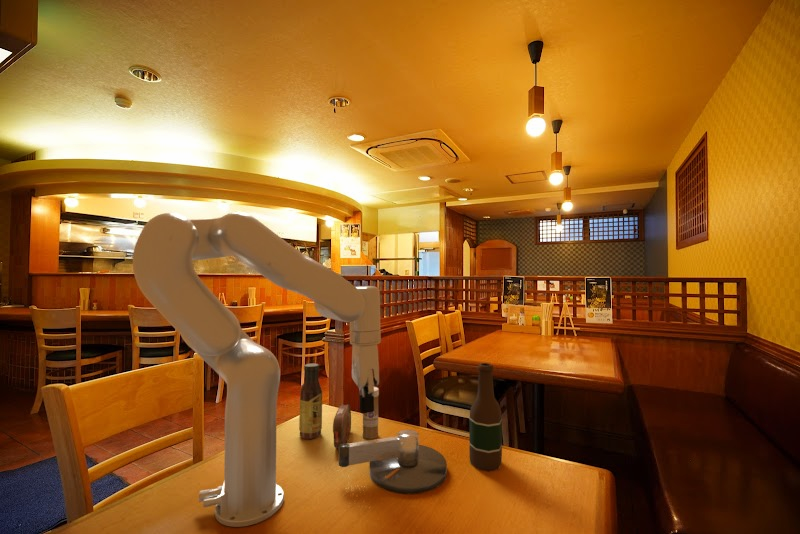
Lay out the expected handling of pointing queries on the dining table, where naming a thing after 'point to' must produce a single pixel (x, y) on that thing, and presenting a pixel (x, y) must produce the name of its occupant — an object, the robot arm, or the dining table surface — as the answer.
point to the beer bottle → (485, 424)
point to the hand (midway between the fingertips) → (366, 411)
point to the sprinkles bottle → (371, 419)
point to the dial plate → (410, 473)
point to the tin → (342, 425)
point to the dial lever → (382, 450)
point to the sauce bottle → (310, 404)
